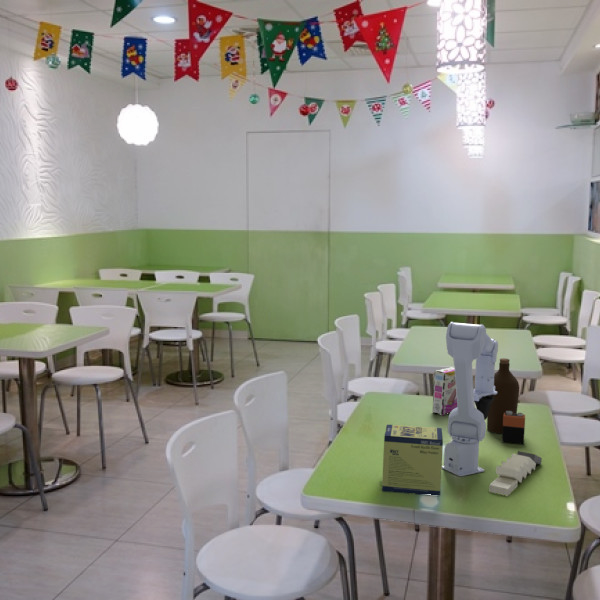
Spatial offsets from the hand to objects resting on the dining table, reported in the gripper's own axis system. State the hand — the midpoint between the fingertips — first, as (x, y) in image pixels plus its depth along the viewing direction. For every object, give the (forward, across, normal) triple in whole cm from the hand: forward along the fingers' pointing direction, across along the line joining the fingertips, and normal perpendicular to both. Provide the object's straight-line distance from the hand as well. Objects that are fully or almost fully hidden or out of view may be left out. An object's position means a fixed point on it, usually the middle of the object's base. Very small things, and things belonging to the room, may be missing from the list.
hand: (482, 418), depth 215 cm
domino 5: (+10, -6, -16) cm, 20 cm away
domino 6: (+10, 0, -16) cm, 19 cm away
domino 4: (+10, -10, -16) cm, 21 cm away
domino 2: (+10, -22, -16) cm, 29 cm away
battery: (+11, +15, -5) cm, 19 cm away
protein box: (+11, -40, +4) cm, 42 cm away
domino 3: (+10, -14, -16) cm, 24 cm away
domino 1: (+10, -18, -16) cm, 26 cm away
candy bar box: (+11, +35, +27) cm, 45 cm away
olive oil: (+11, +25, +2) cm, 28 cm away
